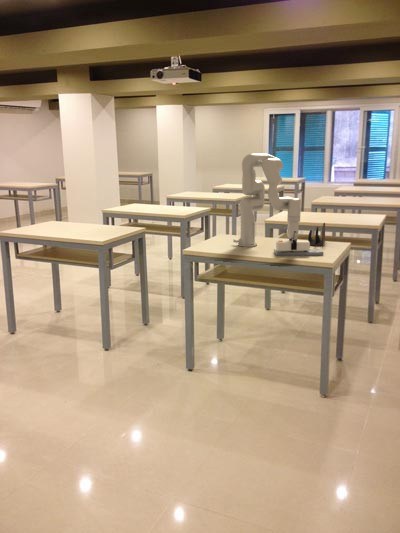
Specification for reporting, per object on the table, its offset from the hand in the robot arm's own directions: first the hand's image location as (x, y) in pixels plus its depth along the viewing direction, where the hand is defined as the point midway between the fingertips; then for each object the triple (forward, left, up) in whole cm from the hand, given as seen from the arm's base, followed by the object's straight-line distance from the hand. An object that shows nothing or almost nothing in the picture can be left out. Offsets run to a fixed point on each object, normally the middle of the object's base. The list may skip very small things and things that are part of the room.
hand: (292, 248), depth 295 cm
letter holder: (+24, +33, -4) cm, 41 cm away
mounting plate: (+4, 0, -4) cm, 5 cm away
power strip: (0, 0, -1) cm, 1 cm away
